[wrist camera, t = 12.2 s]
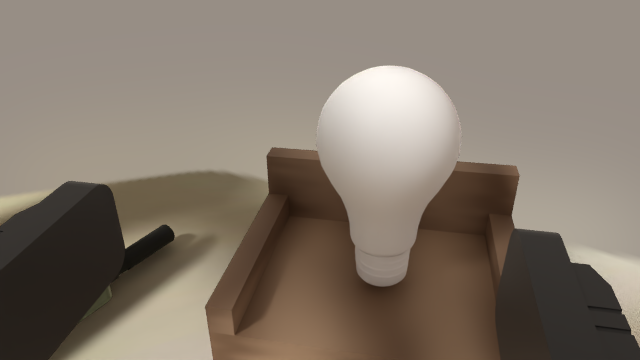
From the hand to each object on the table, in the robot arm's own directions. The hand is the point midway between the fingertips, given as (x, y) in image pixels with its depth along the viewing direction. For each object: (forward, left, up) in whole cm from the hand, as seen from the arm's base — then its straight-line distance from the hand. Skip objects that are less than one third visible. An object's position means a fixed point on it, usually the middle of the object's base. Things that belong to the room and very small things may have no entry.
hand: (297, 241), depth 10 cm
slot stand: (+1, +12, -15) cm, 19 cm away
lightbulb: (+1, +12, -11) cm, 17 cm away
